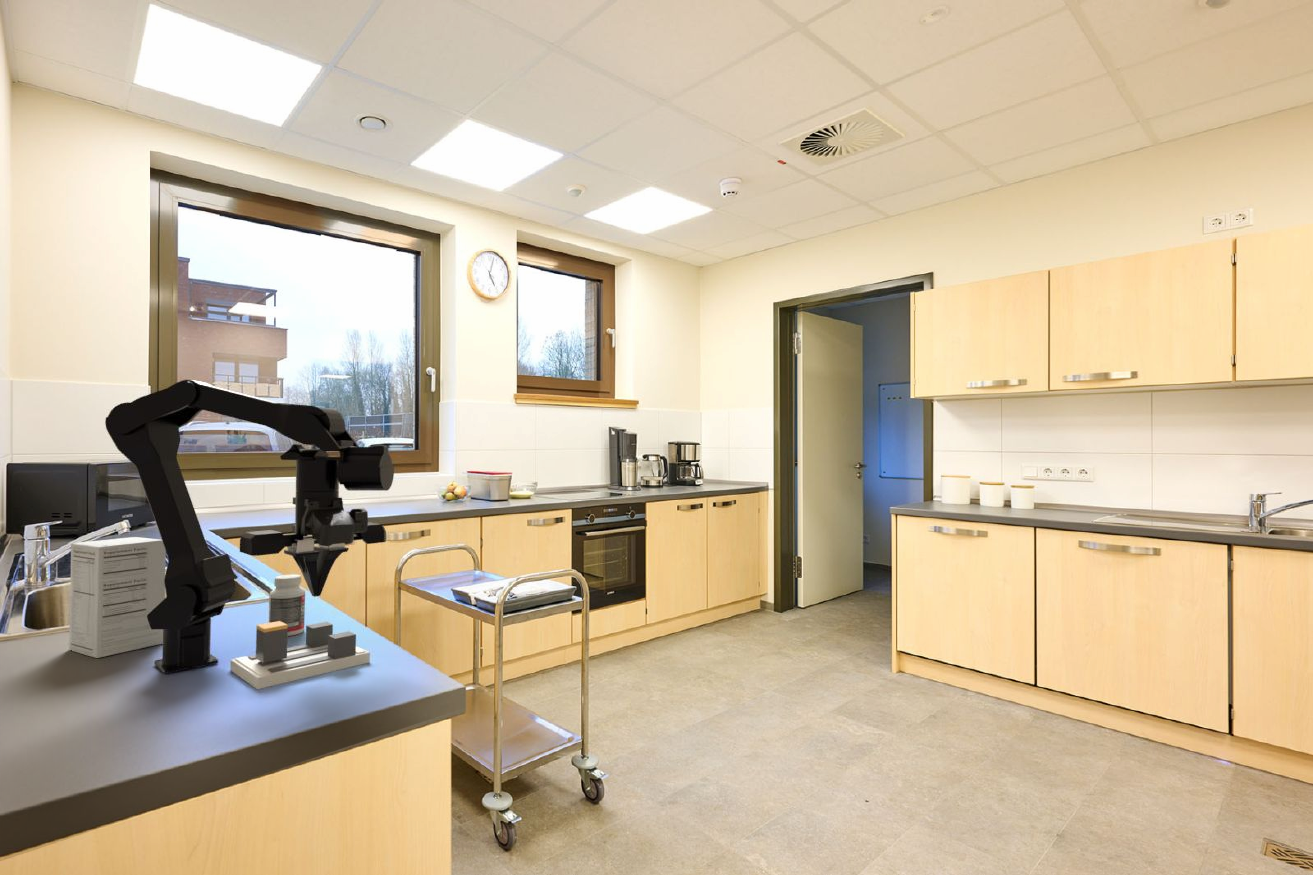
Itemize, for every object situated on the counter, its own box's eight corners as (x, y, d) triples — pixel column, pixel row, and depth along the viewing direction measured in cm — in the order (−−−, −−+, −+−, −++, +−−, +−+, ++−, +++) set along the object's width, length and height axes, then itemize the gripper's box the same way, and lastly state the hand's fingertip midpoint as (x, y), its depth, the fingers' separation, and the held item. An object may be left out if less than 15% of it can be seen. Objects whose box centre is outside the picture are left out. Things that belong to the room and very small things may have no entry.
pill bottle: (309, 633, 112) (310, 576, 113) (274, 639, 108) (276, 580, 109) (297, 627, 116) (298, 572, 116) (263, 633, 112) (265, 576, 112)
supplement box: (166, 643, 105) (168, 539, 106) (96, 659, 97) (99, 546, 98) (135, 635, 110) (138, 535, 110) (66, 650, 102) (69, 542, 102)
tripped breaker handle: (255, 658, 92) (256, 624, 92) (278, 653, 94) (279, 620, 94) (263, 663, 90) (264, 628, 90) (286, 658, 92) (287, 624, 92)
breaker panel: (230, 670, 93) (231, 638, 93) (337, 647, 105) (338, 619, 105) (257, 689, 86) (258, 654, 86) (369, 662, 97) (370, 632, 97)
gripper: (267, 496, 85) (265, 617, 84) (403, 490, 99) (402, 593, 98) (239, 492, 92) (237, 603, 92) (370, 487, 106) (369, 583, 106)
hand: (316, 596), depth 97 cm, fingers closed
